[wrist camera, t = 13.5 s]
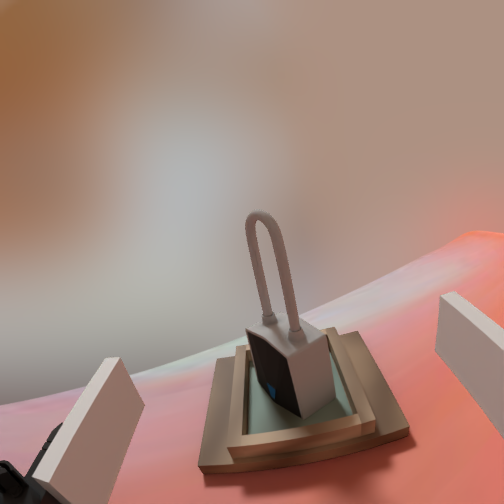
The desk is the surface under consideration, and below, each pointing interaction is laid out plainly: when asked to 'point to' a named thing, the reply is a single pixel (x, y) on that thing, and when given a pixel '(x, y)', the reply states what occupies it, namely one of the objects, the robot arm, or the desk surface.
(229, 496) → the desk surface
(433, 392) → the desk surface
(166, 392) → the desk surface
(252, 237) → the padlock
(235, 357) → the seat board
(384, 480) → the desk surface
